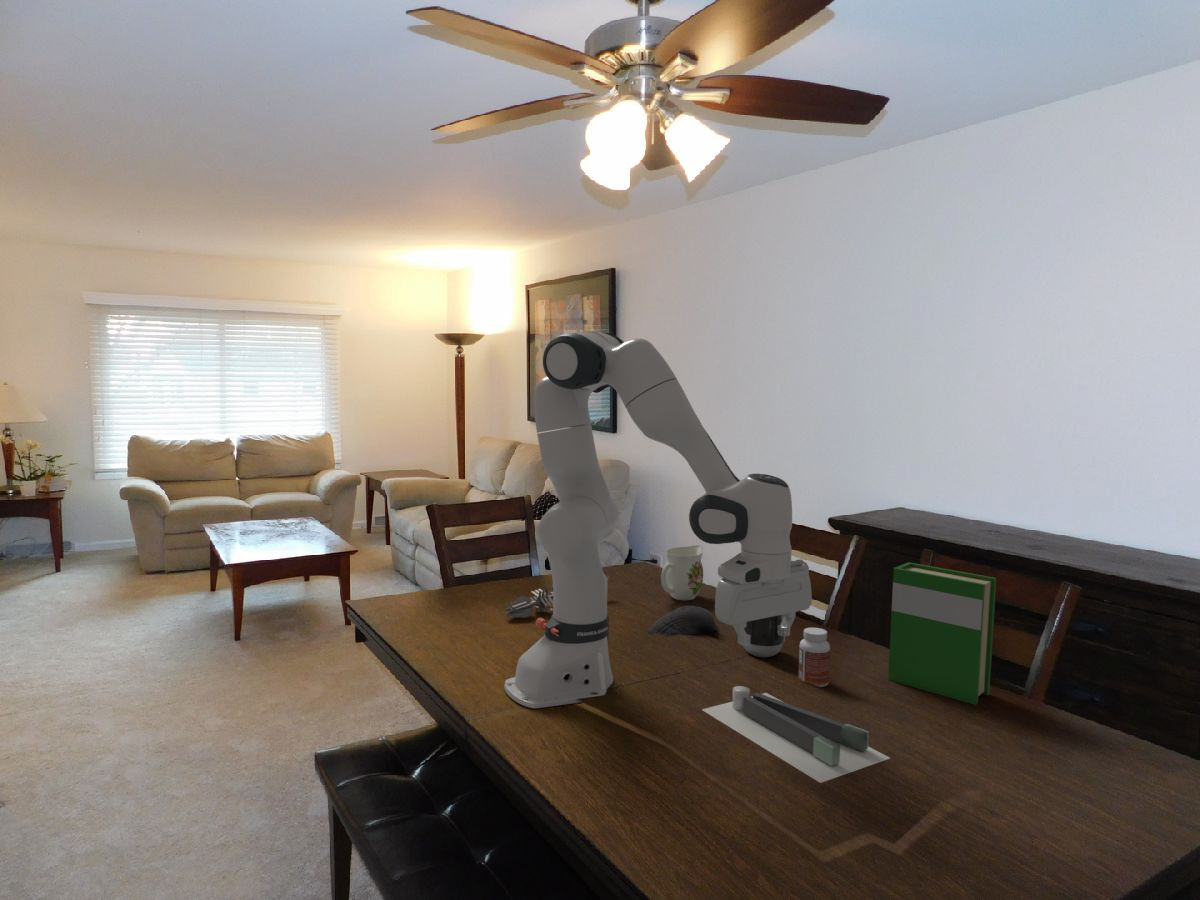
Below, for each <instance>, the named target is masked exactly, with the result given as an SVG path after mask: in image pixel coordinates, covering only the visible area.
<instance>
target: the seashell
mask: <svg viewBox="0 0 1200 900" xmlns="http://www.w3.org/2000/svg"><path fill="white" fill-rule="evenodd" d="M718 631H719V626H718V625H717V623H716V622H715V619H714V616H713V614H712V612H710V611H709V609H706V608H704V607H700V606H698V605H685V606H681V607H677V608H675V609H674V610H672V611H670V612H668V613H666V614H665V615H664V614H663V616H661V617H660V618H658V619H657V620H655V621H654V622H653V624H651V626H650V627H649V628H648V629H647V631H646V632H647V634H649V635H653V634H657V635H661V636H664V637H674V636H678V635H696V634H704V635H709V634H711V633H715V632H718Z"/></svg>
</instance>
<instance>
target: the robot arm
mask: <svg viewBox="0 0 1200 900" xmlns="http://www.w3.org/2000/svg"><path fill="white" fill-rule="evenodd" d="M542 367H543V370H544V371H543V372H544V373H545V375H546V376H544V377H542V378H541V379H540V380H539V381H538V382H537V383H536V385H535V387H534V391H533V392H534V393H533V394H534V395H533V397H534V398H533V399H534V400H533V403H534V404H533V407H534V408H533V409H534V410H533V411H534V421H535V427H536V436H537V442H538V446H539V451H540V457H541V463H542V468H543V471H544V474H545V475H546V476H547V477H548V478H549V479H550V481H551V483H552V486H553V487H554V489H555V492H556V495H557V497H558V500H559V502H557V503H555V504H553V505H552V506H550V508H549V509H548V510H547V511H546V512H545V514H543V516H542V517H541V518H540V521H539V523H538V527H537V536H538V540H539V543H540V545H541V547H542V549H544V550H545V552H546V555H547V559H548V561H549V567H550V573H551V577H552V583H553V604H552V609H553V610H552V615H551V617H550V618H549V620H546V619H544V618H543V617H538V618H537V619H536V620H535V626H536V627H537V628H539V629H540V630H542V631H543V630H545V631H544V635H543V636H542V637H541V638H540V639H539V640H538V641H536V642H535V644H533V645H532V646H530V648H528V649H527V650H526V651H525V652H524V653H523V654H522V655H521V656H520V657H519V658H518V660H517V664H516V670H515V676H514V677H511V678H507V679H505V681H504V692H505V693H506V694H507V696H508V697H510V699H512V700H513V701H514V702H516V703H518V704H519V705H521V706H524V707H527V708H531V709H541V708H548V707H549V708H550V707H555V706H562V705H571V704H578V703H583V701H582V700H580V699H586V698H593V697H594V698H595V697H600V696H605V695H606V694H607V690H608V688H609V687H610V686H611V685H612V684H613V682H614V677H613V673H612V669H611V664H610V657H609V655H610V654H609V647H608V640H609V636H610V616H609V615H608V581H607V578H606V576H605V575H606V574H605V573H604V570H603V567H602V562H601V557H600V545H601V543H602V542H605V541H606V540H608V538H610V536H612V534H613V532H614V531H615V530H616V527H617V526H618V523H619V520H620V511H619V507H618V504H617V503H616V501H615V500H614V499H613V498H612V496H611V494H610V491H609V489H608V486H607V483H606V480H605V478H604V474H603V472H602V470H601V468H600V463H599V460H598V457H597V450H596V444H595V439H594V433H593V427H592V422H591V416H590V411H589V399H590V396H591V395H592V393H595V394H598V393H600V392H602V391H604V390H605V389H607V388H609V387H612V388H613V389H614V390H615V391H616V393H617V394H618V396H619V398H620V399H621V401H622V403H623V405H624V408H625V409H626V412H627V413H628V415H629V416H630V418H631V420H632V421H633V423H634V424H635V426H636V427H637V428H638V430H640V431H641V434H643V435H644V436H645V437H646V438H648V439H650V440H652V441H655V442H658V443H660V444H662V445H666V446H668V447H670V448H671V449H673V450H675V451H676V452H677V453H679V454H680V455H681V456H682V457H683V458H684V459H685V461H686V462H687V463H688V465H689V467H690V469H691V470H692V472H693V474H694V475H695V476H696V478H697V479H698V481H699V483H700V484H701V486H702V487H703V490H704V491H705V493H704V494H702V495H701V496H700V497H698V498H696V500H695V501H694V502H693V504H692V505H691V507H690V509H689V513H688V521H689V525H690V528H691V530H692V532H693V534H694V535H695V536H696V537H697V538H698V539H699V540H700V541H702V542H704V543H706V544H711V545H722V544H723V545H724V544H732V543H739V544H740V547H741V548H740V552H739V553H738V554H736V555H735V556H733V557H731V558H729V559H728V560H726V561H724V562H723V563H721V564H719V565H718V568H717V574H718V577H720V578H721V579H719V581H718V582H717V585H716V589H715V596H714V597H715V600H714V601H715V603H714V614H715V617H716V619H717V620H718V621H720V622H721V623H722V624H723V623H724V624H726V625H728V626H733V628H734V631H735V633H736V634H737V643H738V644H739V645H740V646H742V647H743V646H745V645H749V644H750V639H751V635H748V634H746V632H745V630H744V628H745V627H746V624H747V622H748V621H753V620H758V619H763V618H768V617H773V616H777V615H782V617H783V620H782V623H781V625H778V631H777V633H778V635H779V636H782V637H785V638H786V637H790V635H791V627H792V625H793V623H794V621H795V618H796V614H797V612H802V611H806V610H809V609H810V607H811V605H812V602H813V601H812V600H813V597H812V584H811V578H810V574H809V573H810V567H809V565H808V563H807V562H806V561H804V560H803V559H796V560H792V545H791V539H790V536H791V530H792V528H793V503H792V502H793V501H792V494H791V493H792V492H791V489H790V486H789V484H788V483H787V482H786V481H785V480H783V479H782V478H779V477H778V476H774V475H771V474H770V475H769V474H766V473H765V474H764V473H749V474H747V475H746V476H745V477H744V478H743V479H741V480H740V479H739V478H738V477H737V476H736V475H735V473H734V472H733V471H732V469H731V468H730V466H729V465H728V463H727V461H726V460H725V459H724V457H723V455H722V454H721V452H720V451H719V449H718V447H717V446H716V444H715V442H714V441H713V440H712V438H711V437H710V435H709V433H708V432H707V431H706V429H705V428H704V426H703V424H702V422H701V420H700V418H699V417H698V415H697V414H696V412H695V410H694V408H693V407H692V405H691V402H690V401H689V398H688V397H687V395H686V393H685V391H684V389H683V387H682V386H681V383H680V382H679V380H678V379H677V377H676V375H675V373H674V372H673V370H672V369H671V366H669V364H668V363H667V361H666V360H665V358H664V357H663V356H662V354H661V353H660V352H659V351H658V350H657V348H656V347H655V346H654V345H653V344H652V343H651V341H648V340H647V339H644V338H632V339H629V340H626V341H624V340H623V339H621V338H620V337H618V336H616V335H615V334H612V333H609V332H600V331H588V330H587V331H582V332H567V333H563V334H561V335H557V337H554V338H553V339H552V340H551V341H550V342H548V344H547V346H546V347H545V349H544V351H543V356H542Z"/></svg>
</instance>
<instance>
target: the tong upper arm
mask: <svg viewBox="0 0 1200 900" xmlns="http://www.w3.org/2000/svg"><path fill="white" fill-rule="evenodd" d="M762 694H763V693H759V692H756V693H753V694H752V696H753V698H754V699H756V700H757V701H759V702H761V703H763V704H765V705H767V706H768V707H770V708H772V709H774V710H776V711H778V712H779V713H781V714H783V715H785V716H787V717H789V718H790V719H792V720H794V721H796V722H798V723H800V724H802V725H803V726H805V727H807V728H809V729H811V730H813V731H814V732H816V733H818V734H820V735H822V736H824V737H825V738H827V739H830V740H832V741H835V742H838V743H840V744H843V745H845V746H848V747H851V748H853V749H856V750H859V751H861V752H864V751H865V750H867V749H868V747H869V736H870V734H869V733H870V731H868V730H865V729H863V728H860V727H859V726H858V727H857V726H854V725H852V724H848V723H843V722H840V721H837V720H834V719H831V718H829V717H826V716H823V715H820V714H818V713H815V712H813V711H810V710H806V709H804V708H801V707H799V706H796V705H793V704H790V703H789V702H788V703H787V702H785V701H783V700H781V701H779V700H780V699H779V700H776V699H774V698H771V697H768V696H765V695H762ZM782 701H783V702H782Z"/></svg>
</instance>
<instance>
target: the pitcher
mask: <svg viewBox="0 0 1200 900" xmlns="http://www.w3.org/2000/svg"><path fill="white" fill-rule="evenodd" d="M703 548H704V546H703V545H701V544H699V545H698V544H697V545H690V546H680V547H679V546H678V547H673V548H670V549H667V550H666V551H665V552H666V558H667V561H666V563H665V564H664V566H663V567H662V570H661V572H660V573H661V574H660V584H661V587H662V589H663V590H664V591H665V592H666V593H669V594H670V596H671V598H672V599H674V600H676V601H677V600H678V601H690V600H694V599H696V597H697V596H698V595H699V592H701V588H702V585H703V581H704V567H703V563H702V559H703V558H702V556H703Z"/></svg>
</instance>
